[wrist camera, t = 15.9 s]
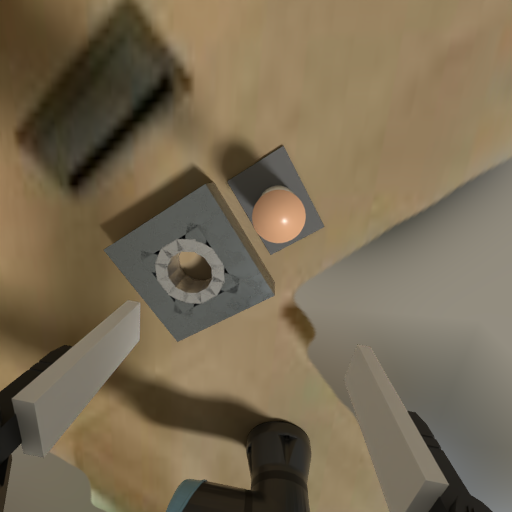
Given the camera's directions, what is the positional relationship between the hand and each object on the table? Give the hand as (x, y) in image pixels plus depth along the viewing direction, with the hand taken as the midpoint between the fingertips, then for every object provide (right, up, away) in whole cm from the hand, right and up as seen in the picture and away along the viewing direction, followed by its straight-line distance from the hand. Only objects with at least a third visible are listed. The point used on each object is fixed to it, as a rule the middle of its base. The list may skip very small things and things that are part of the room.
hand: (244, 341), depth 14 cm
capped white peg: (+4, +13, +24) cm, 28 cm away
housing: (-10, +4, +28) cm, 30 cm away
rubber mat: (+4, +14, +24) cm, 28 cm away
